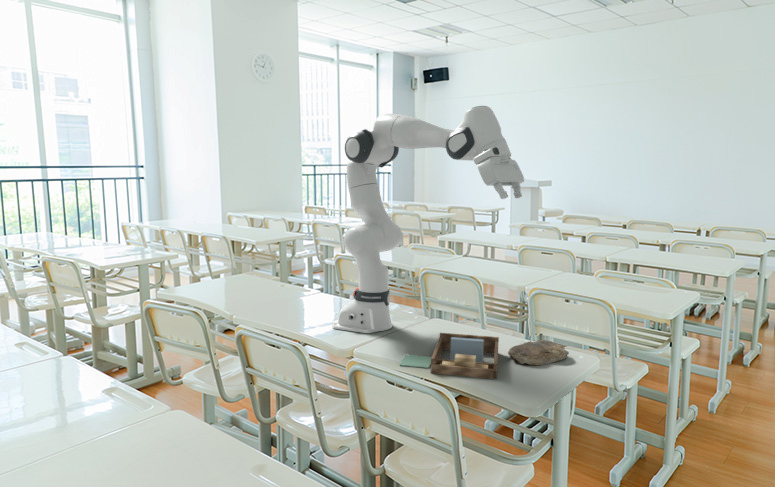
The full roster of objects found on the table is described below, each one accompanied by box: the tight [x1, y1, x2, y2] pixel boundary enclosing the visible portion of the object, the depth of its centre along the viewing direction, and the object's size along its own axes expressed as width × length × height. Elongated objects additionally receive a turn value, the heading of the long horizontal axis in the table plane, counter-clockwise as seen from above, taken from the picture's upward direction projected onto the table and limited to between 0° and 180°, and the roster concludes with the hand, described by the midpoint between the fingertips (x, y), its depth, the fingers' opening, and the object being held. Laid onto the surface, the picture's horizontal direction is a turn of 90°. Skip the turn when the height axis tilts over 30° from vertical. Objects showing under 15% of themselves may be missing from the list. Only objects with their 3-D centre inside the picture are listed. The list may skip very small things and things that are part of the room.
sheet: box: [449, 337, 484, 363], centre depth 170 cm, size 10×2×7 cm, turn 78°
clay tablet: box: [507, 339, 570, 366], centre depth 174 cm, size 14×5×20 cm
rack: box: [430, 332, 500, 380], centre depth 168 cm, size 19×22×6 cm
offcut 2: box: [474, 364, 488, 369], centre depth 160 cm, size 6×3×2 cm, turn 77°
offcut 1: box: [441, 361, 455, 366], centre depth 162 cm, size 6×3×2 cm, turn 78°
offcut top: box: [455, 354, 476, 367], centre depth 161 cm, size 6×3×2 cm, turn 76°
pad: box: [399, 354, 432, 369], centre depth 169 cm, size 9×9×1 cm
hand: (512, 197), depth 161 cm, fingers open, 8 cm apart
